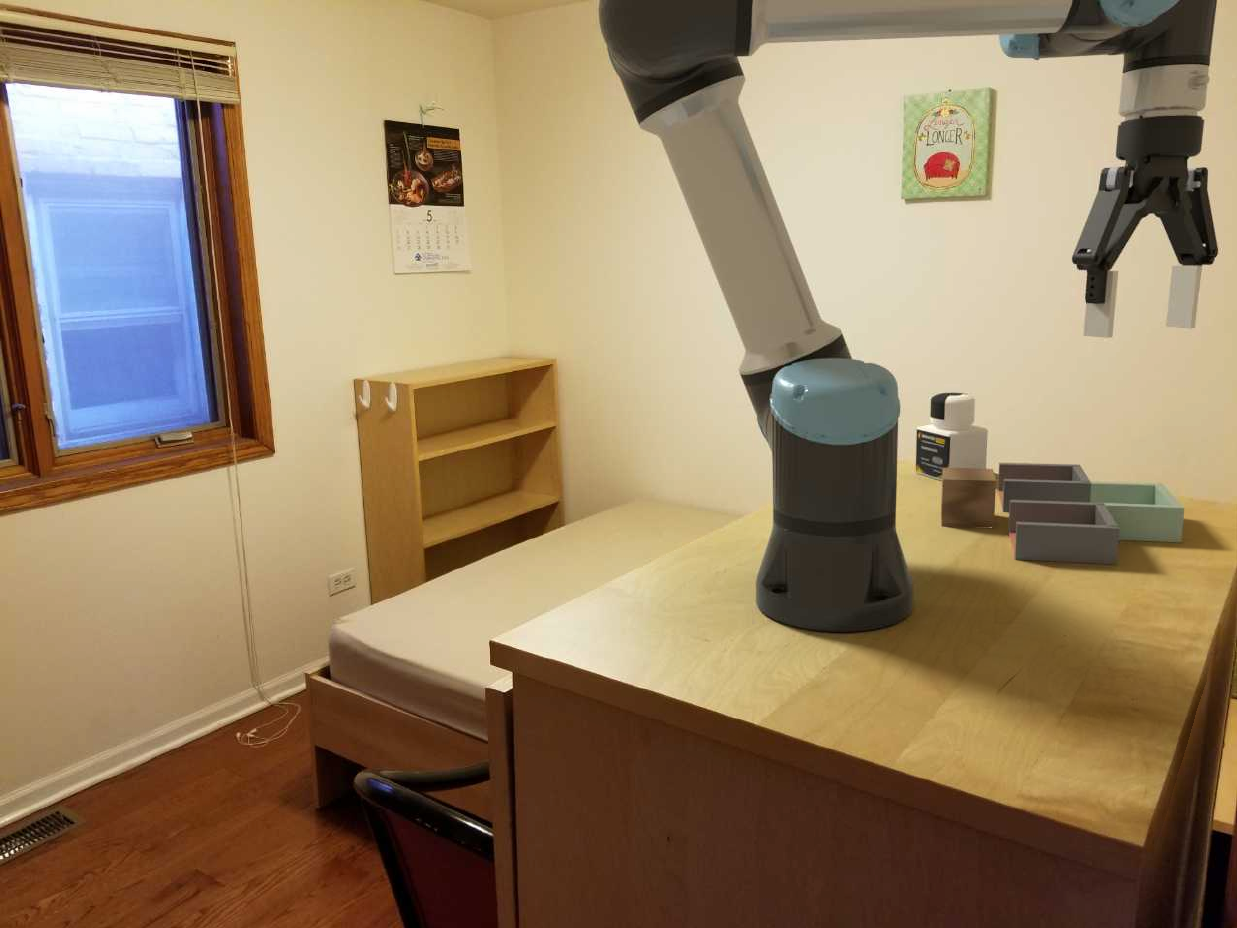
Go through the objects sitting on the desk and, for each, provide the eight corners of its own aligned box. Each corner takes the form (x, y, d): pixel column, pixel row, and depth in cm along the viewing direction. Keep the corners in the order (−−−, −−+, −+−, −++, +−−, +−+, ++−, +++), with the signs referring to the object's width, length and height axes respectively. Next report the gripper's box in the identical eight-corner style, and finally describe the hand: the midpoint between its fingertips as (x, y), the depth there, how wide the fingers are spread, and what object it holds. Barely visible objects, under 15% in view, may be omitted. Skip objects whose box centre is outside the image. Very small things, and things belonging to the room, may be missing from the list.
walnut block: (941, 526, 119) (942, 479, 117) (940, 513, 124) (942, 467, 123) (993, 528, 117) (996, 480, 116) (990, 515, 123) (993, 468, 121)
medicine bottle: (914, 473, 144) (916, 393, 142) (952, 467, 147) (955, 388, 144) (948, 483, 138) (950, 400, 135) (986, 476, 141) (990, 394, 138)
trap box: (1015, 559, 106) (1017, 524, 105) (997, 491, 133) (999, 462, 132) (1202, 569, 100) (1205, 532, 100) (1144, 495, 127) (1147, 466, 126)
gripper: (1114, 107, 87) (1094, 343, 92) (1272, 116, 99) (1247, 326, 104) (1043, 117, 94) (1028, 337, 99) (1199, 124, 105) (1178, 321, 110)
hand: (1140, 332), depth 101 cm, fingers open, 13 cm apart
